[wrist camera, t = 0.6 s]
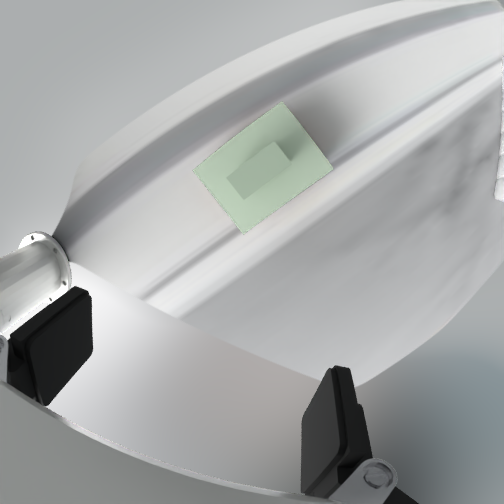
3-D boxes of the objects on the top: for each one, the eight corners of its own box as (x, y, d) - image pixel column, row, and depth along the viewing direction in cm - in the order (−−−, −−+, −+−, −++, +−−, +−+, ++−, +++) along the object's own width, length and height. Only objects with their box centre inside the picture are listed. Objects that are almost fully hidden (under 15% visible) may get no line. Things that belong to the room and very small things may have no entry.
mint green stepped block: (245, 230, 35) (235, 251, 27) (197, 169, 33) (174, 173, 26) (330, 168, 32) (346, 172, 24) (281, 104, 30) (283, 88, 23)
